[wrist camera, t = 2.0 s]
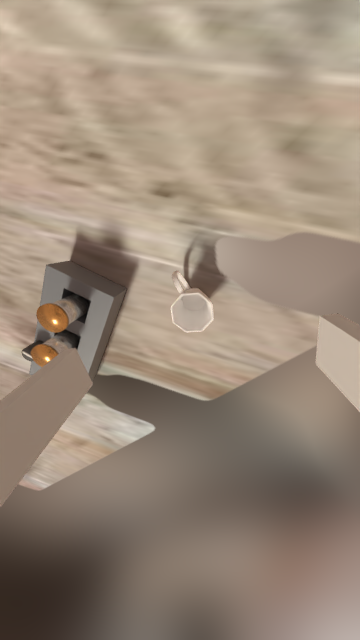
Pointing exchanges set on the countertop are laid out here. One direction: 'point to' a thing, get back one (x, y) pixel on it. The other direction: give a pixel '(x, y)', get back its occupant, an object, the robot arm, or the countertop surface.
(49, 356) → the knob mid
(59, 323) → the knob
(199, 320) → the cup
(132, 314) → the countertop surface
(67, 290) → the panel
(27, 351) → the dial
